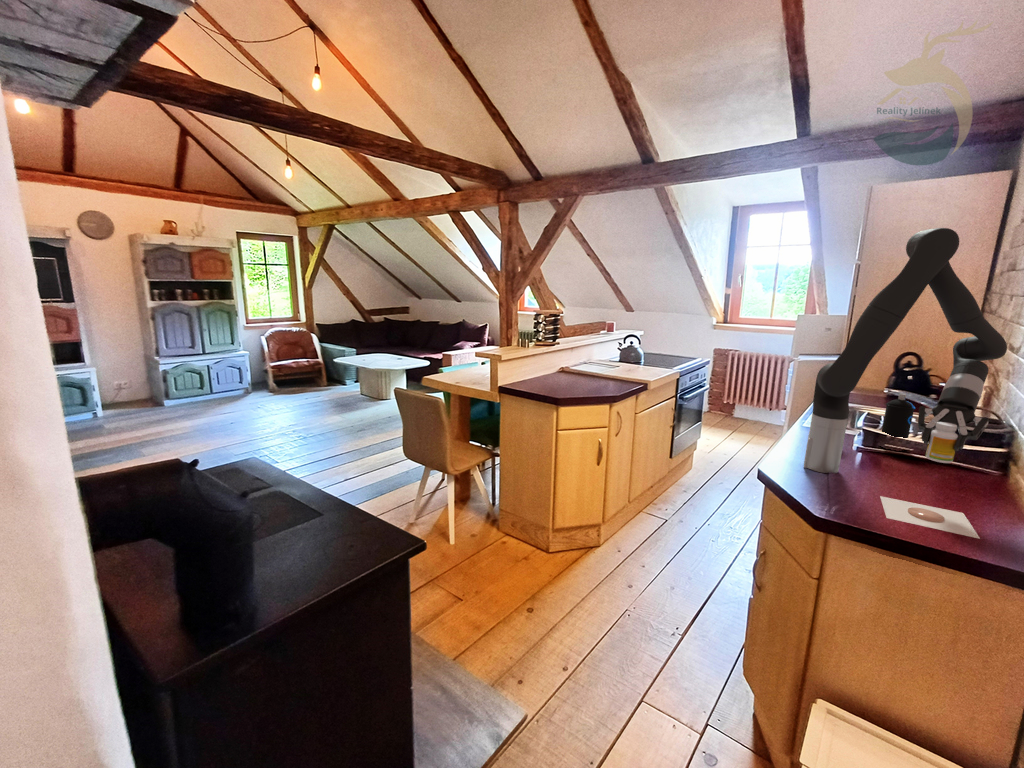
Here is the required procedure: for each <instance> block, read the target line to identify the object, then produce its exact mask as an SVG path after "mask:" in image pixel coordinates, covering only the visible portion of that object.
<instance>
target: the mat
mask: <svg viewBox="0 0 1024 768" xmlns="http://www.w3.org/2000/svg"><path fill="white" fill-rule="evenodd" d="M879 497H880V502H881V504H882V507H883V512H884V514H885V517H886V519H889V520H893V521H894V520H895V521H898V522H903V523H908V524H912V525H916V526H921V527H925V528H930V529H935V530H938V531H943V532H947V533H952V534H957V535H960V536H961V535H962V536H966V537H970V538H975V539H981V538H980V536H979V535H978V532H977V531H976V529H974V527H973V525H972V524H971V522H970V520H969V519H968V518H967V517H966V515H965V514H964V513H963V512H961V511H960V512H959V511H956V510H950V509H945V508H940V507H935V506H931V505H925V504H921V503H920V504H919V503H915V502H910V501H905V500H901V499H896V498H892V497H891V498H890V497H887V496H882V495H880V496H879ZM909 508H923V509H927V510H930V511H933V512H936V513H938V514H940V515H942V516H943V517H944V518H945V519H944V521H943V522H931V521H926V520H922V519H919V518H917V517H914V516H912V515H911V514H909V513H908V509H909Z"/></svg>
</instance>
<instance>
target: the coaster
mask: <svg viewBox="0 0 1024 768" xmlns="http://www.w3.org/2000/svg"><path fill="white" fill-rule="evenodd" d="M908 513H909V514H911V515H912V516H914V517H917V518H919V519H922V520H926V521H931V522H943V521H944V519H945V518H944V517H943V516H942V515H940V514H938V513H936V512H933V511H930V510H927V509H923V508H909V509H908Z"/></svg>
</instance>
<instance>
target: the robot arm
mask: <svg viewBox="0 0 1024 768" xmlns="http://www.w3.org/2000/svg"><path fill="white" fill-rule="evenodd" d="M959 247H960V237H959V235H958V233H957V232H956V231H955V230H954V229H951V228H947V227H936V228H935V227H934V228H929V229H924V230H921V231H918V232H916V233H914V234H913V235H912V236H911V237H910V238H909V239H908V241H907V242H906V246H905V250H906V251H905V252H906V255H907V257H908V258H909V259H908V261H907V262H906V264H905V266H904V267H903V268H902V270H901V271H900V272H899V274H898V275H897V276H896V277H895V278H894V279H892V281H891V282H889V283H888V284H887V285H886V286H884V287H883V288H882V289H881V290H880V291H879V292H878V293H877V294H876V295H875V296H874V298H873V299H872V300H871V301H870V302H869V303H868V305H867V306H866V308H865V309H864V310H863V312H862V314H861V315H860V316H859V318H858V320H857V321H856V323H855V326H854V328H853V330H852V332H851V335H850V336H849V340H848V342H847V343H846V346H845V347H844V349H843V350H842V352H840V354H839V356H838V357H837V358H836V359H835V361H834V362H832V363H828V364H825V365H824V366H822V367H821V368H820V369H819V371H818V372H817V375H816V378H815V386H814V391H813V399H812V405H813V408H812V412H811V418H810V419H811V420H810V426H809V431H808V432H809V433H808V437H807V442H806V448H805V455H804V461H803V468H805V469H810V470H811V471H814V472H819V473H823V474H824V473H825V474H829V473H831V474H837V473H839V471H840V470H839V469H840V465H841V458H842V454H843V449H844V448H843V447H844V443H845V442H844V441H845V436H846V431H847V425H848V421H849V415H850V406H849V404H850V403H849V401H850V395H851V394H850V393H852V392H853V391H854V390H855V388H856V387H857V385H858V383H859V381H860V379H861V378H862V376H863V374H864V373H865V371H866V370H867V367H868V366H869V364H870V363H871V361H872V360H873V358H874V357H875V356H876V355H877V354H878V352H879V351H880V350H881V349H882V348H883V346H884V345H885V344H887V342H888V340H889V339H890V337H891V336H892V335H893V334H894V333H895V332H896V330H897V329H898V327H899V326H900V324H901V323H902V322H903V321H904V319H905V318H906V317H907V314H908V313H909V312H910V310H912V308H913V307H914V305H915V303H916V302H917V300H919V298H920V296H921V295H922V294H923V292H924V291H925V289H926V288H927V286H929V287H930V289H931V291H932V293H933V294H934V296H935V298H936V300H937V301H938V304H939V307H940V308H941V310H942V312H943V314H944V317H945V319H946V321H947V323H948V325H949V328H950V329H951V330H952V331H953V332H954V333H960V334H970V335H972V336H969V337H968V336H967V337H963V338H961V339H958V341H956V342H955V343H954V345H953V347H952V354H953V355H952V356H953V360H952V361H953V362H952V363H953V365H952V366H953V368H952V370H951V373H950V375H949V377H948V379H947V381H946V383H945V384H944V386H943V389H942V391H941V393H940V396H939V399H938V401H937V404H936V405H935V406H934V407H933V408H926V407H925V406H924V405H921V406H919V408H918V417H917V427H918V429H919V430H923V433H922V435H921V441H922V442H923V444H925V445H928V442H929V438H930V434H931V431H932V430H936V429H937V428H936V423H937V422H947V423H952V424H955V425H957V430H958V433H959V434H958V438H957V441H956V444H955V447H954V450H955V452H959V450H963V449H964V447H965V444H966V441H968V440H971V441H977V440H978V439H979V438H980V436H981V435H982V433H983V432H985V429H987V427H989V426H988V425H989V420H990V419H989V418H988V416H987V417H985V416H983V417H979V416H976V414H975V413H976V411H977V407H978V404H979V403H980V400H981V398H982V394H983V392H984V385H985V382H986V380H987V378H988V375H989V366H988V365H987V364H986V363H985V362H983V361H991V360H997V359H998V360H999V359H1001V358H1003V357H1004V356H1005V355H1006V353H1007V350H1008V344H1007V341H1006V340H1005V338H1004V337H1003V336H1002V334H1001V333H1000V332H999V331H998V330H997V329H996V328H994V326H993V325H992V324H991V323H990V322H989V321H988V320H987V319H986V318H985V316H984V315H983V313H982V310H981V308H980V306H979V304H978V302H977V300H976V299H975V297H974V296H973V294H972V292H971V291H970V290H969V288H968V287H967V286H966V285H965V284H964V282H963V281H962V280H961V279H960V278H959V276H958V275H957V274H956V272H955V271H954V269H953V267H952V265H951V263H950V260H951V259H952V258H953V257H954V256H955V254H956V253H957V251H958V249H959ZM931 414H932V415H933V418H931V420H930V421H929V422H928V423H926V422H925V421H926V418H927V417H929V415H931ZM973 422H974V423H975V424H974V425H975V427H974V428H973V429H972V431H968V430H967V425H968V424H971V423H973Z"/></svg>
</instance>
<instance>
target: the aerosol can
mask: <svg viewBox="0 0 1024 768" xmlns="http://www.w3.org/2000/svg"><path fill="white" fill-rule="evenodd" d="M906 398H907V394H906V393H898V398H897V399H893V400H890V401H888V402H886V403H885V406H886V407H885V413H884V415H883V421H882V427H881V431H882V432H885V433H887V434H889V435H891V436H894V437H903V438H908V439H909V436H910V431H911V425H912V421H913V417H914V411H915V410H916V407H915V405H913V403H912V402H909V401H907V400H906Z"/></svg>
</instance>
